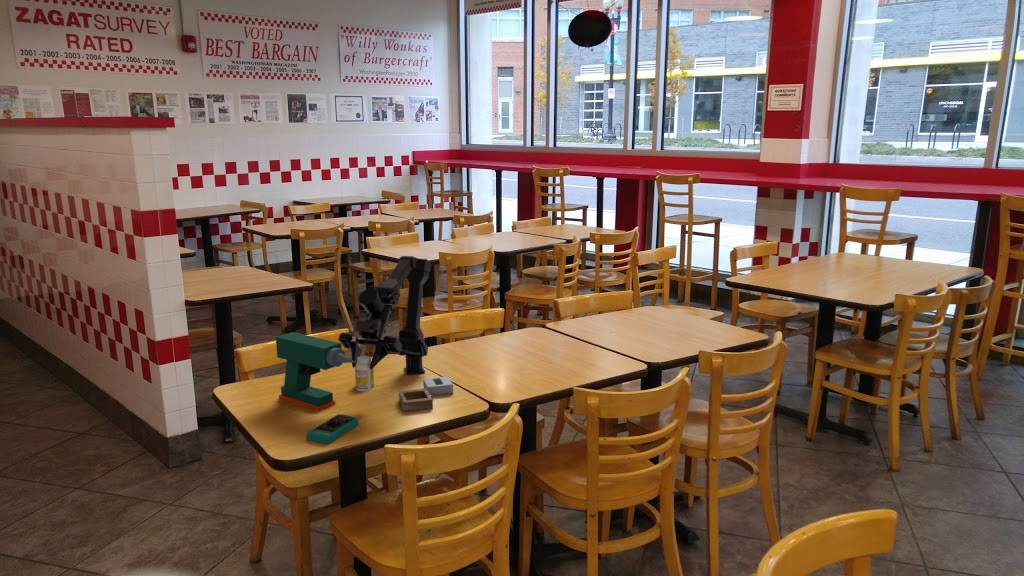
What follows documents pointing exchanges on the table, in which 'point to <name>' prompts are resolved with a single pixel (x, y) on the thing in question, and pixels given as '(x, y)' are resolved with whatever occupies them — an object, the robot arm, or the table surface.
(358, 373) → the supplement bottle
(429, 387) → the grey slot block
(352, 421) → the digital multimeter
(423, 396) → the walnut socket block
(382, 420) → the table surface
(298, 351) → the power tool
